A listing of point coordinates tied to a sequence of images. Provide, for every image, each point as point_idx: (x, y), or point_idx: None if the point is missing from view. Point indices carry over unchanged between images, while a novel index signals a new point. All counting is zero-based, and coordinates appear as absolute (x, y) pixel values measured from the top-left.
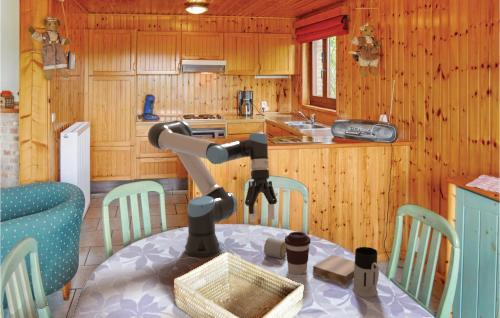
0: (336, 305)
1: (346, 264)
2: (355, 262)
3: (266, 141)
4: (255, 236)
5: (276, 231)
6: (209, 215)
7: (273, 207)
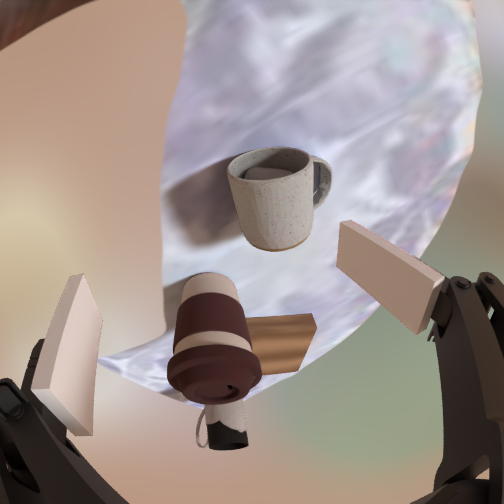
0: (148, 376)
1: (278, 361)
2: (212, 425)
3: None
4: (398, 18)
5: (461, 79)
6: None
7: (400, 315)
